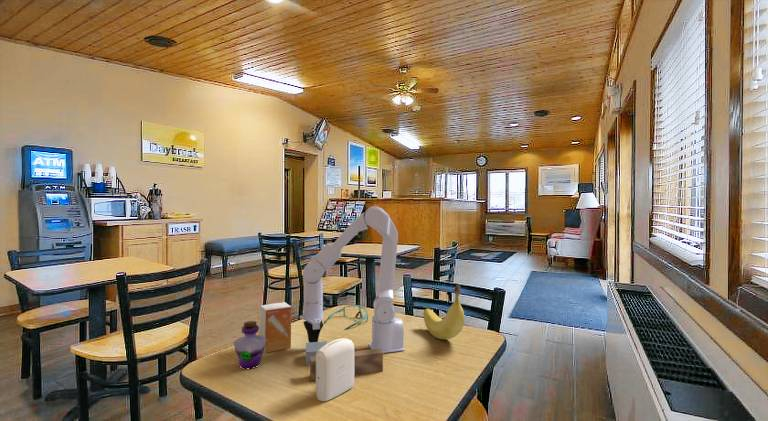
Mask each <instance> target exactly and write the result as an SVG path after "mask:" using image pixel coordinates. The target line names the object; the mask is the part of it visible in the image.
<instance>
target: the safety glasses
mask: <svg viewBox="0 0 768 421" xmlns="http://www.w3.org/2000/svg"><path fill="white" fill-rule="evenodd" d="M350 307H358V312H357V313H356V314H355V318H358V317H360V320H358V321H356V322H354V323H352V324H350V325H348V326H347V327H345V328H344V329H343V331H347V330H349V329H350V328H352V327H354V326H356V325H358V324H360V323H361V322H363V320H365V323H368V321H369V312H368V310H367V308H366V307H365V306H364V305H361V304H360V305H358V304H350V305H346V306H344V307H342V308H340V309H337V310H335V311H334V312H333V313H331V314H330V315H329V316H327V318H326V320H325V322H324V325H326V324H327V321H329V319H330V318H331V317H333V316H335V314H338V313H341V312H343V317H347V315H346V313H345V312H346V308H350ZM361 309H363V310H365V313H366V314H365V315H364V316H363V313H362V310H361Z"/></svg>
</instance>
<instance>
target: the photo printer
mask: <svg viewBox="0 0 768 421" xmlns="http://www.w3.org/2000/svg"><path fill="white" fill-rule="evenodd" d="M354 352H355V344H354V343H353V341H352V340H351V339H348V338H337V339H334V340H331V341H330V342H327V344H326V345H324V346H323V347H322V348H320V349H319V350H318V351H317V353H316V380H315V396H316V398H317V399H318V401H319V402H320V401H321V402H327V401H330V400H332V399H334V398H336V397H338V396H340V395H341V394H344V393H345V392H346V391H349V390H350V389H353V387H354V386H355V375H354V364H355V363H354Z"/></svg>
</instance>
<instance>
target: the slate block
mask: <svg viewBox="0 0 768 421" xmlns="http://www.w3.org/2000/svg"><path fill="white" fill-rule="evenodd" d="M327 343H328V342H327V341H318V342H309V341H308V342H305V366H309V367H310V357H311V356H316V353H317V351H318V350H319V349H320V348H322V347H323V346H324V345H326V344H327Z"/></svg>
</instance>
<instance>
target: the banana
mask: <svg viewBox="0 0 768 421" xmlns="http://www.w3.org/2000/svg"><path fill="white" fill-rule="evenodd" d="M453 292H454V294H455V297H454V301H453V303H452V304H451V305H450V307H449V308H448V309H447V311H446V314H445V315H444V317H443V318H441V317H440V316H439V315H437V314H436V313H435V312H434V311H433V310H432V309H430V308H425V309H424V311H423V315H422V316H423V320H424V324H425V327H426V329H427V330H428V332H429V333H430V334H431V335H432V336H433V337H434V338H436V339H439V340H451V339H454V338H455V337H457V336H458V335H459V334H460V333H461V332H462V331H463V328H464V326H465V312H464V309H463V307H462V305H461V302H460V300H459V295H460V293H461V285H459V284H457V285H455V287H454V289H453Z"/></svg>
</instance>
